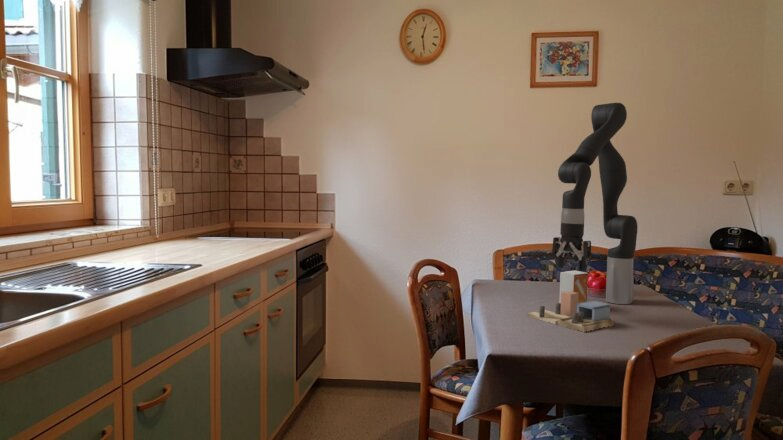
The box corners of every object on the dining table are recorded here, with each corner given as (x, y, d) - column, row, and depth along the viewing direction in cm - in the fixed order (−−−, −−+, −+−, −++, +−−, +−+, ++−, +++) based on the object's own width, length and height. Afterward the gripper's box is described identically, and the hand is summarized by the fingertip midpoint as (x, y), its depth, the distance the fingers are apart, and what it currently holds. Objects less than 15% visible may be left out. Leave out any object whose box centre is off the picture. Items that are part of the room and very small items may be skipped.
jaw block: (567, 313, 193) (568, 291, 192) (577, 316, 190) (578, 293, 189) (560, 315, 191) (561, 292, 190) (569, 317, 187) (570, 294, 187)
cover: (592, 315, 185) (592, 300, 184) (609, 319, 179) (610, 304, 179) (576, 318, 180) (577, 303, 180) (593, 322, 175) (594, 307, 174)
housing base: (587, 318, 186) (588, 305, 186) (613, 325, 178) (614, 311, 178) (557, 324, 178) (558, 310, 178) (584, 332, 170) (584, 317, 169)
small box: (572, 310, 197) (574, 274, 196) (558, 307, 203) (559, 271, 202) (587, 308, 202) (588, 272, 201) (573, 304, 207) (574, 270, 206)
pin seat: (545, 312, 194) (545, 299, 194) (574, 320, 184) (574, 306, 184) (526, 316, 189) (526, 303, 188) (554, 324, 179) (555, 310, 178)
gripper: (597, 223, 184) (595, 271, 185) (562, 220, 196) (560, 265, 197) (583, 223, 180) (580, 273, 181) (548, 220, 192) (546, 267, 193)
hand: (570, 269), depth 189 cm, fingers open, 8 cm apart
